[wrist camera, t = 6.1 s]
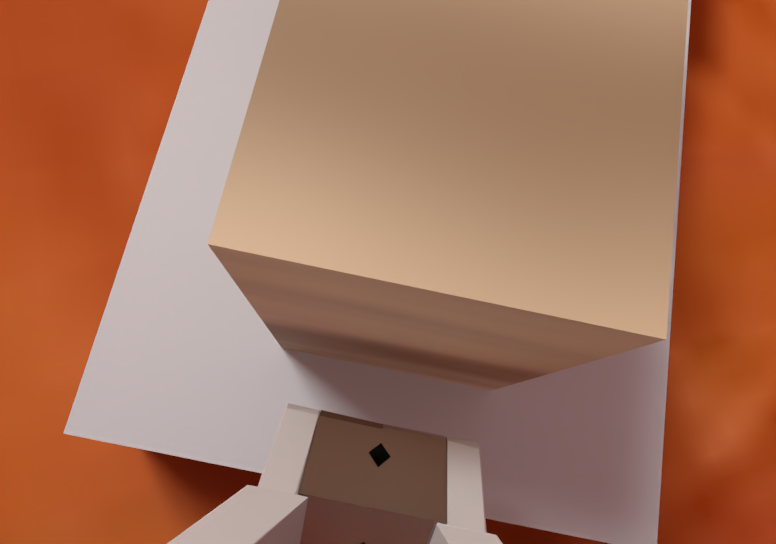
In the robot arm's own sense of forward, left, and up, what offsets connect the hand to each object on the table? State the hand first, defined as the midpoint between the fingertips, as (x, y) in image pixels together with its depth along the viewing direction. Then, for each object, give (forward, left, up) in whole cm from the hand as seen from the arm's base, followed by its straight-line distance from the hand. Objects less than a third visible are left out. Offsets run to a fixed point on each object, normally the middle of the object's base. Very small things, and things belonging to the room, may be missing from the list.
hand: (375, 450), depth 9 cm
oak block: (-3, +3, -3) cm, 5 cm away
